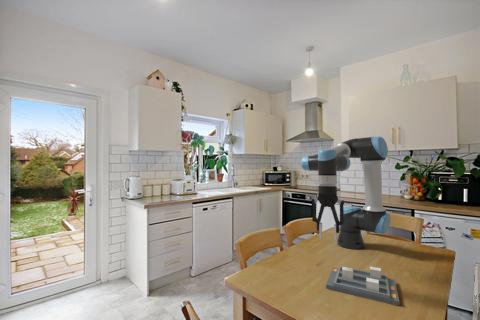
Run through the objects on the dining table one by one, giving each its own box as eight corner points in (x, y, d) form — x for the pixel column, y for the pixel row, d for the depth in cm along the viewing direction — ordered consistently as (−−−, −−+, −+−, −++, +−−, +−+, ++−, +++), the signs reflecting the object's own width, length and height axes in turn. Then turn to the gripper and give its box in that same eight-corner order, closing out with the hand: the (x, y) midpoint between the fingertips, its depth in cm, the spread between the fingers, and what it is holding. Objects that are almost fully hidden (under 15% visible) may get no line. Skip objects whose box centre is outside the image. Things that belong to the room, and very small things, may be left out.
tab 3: (366, 288, 90) (366, 277, 90) (378, 290, 88) (378, 279, 88) (366, 291, 88) (366, 280, 88) (378, 294, 86) (378, 283, 86)
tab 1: (342, 276, 100) (342, 266, 100) (353, 278, 98) (353, 268, 98) (342, 279, 97) (341, 269, 97) (352, 281, 95) (352, 271, 95)
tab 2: (370, 275, 100) (369, 266, 100) (381, 278, 98) (380, 268, 98) (369, 278, 98) (369, 269, 98) (381, 281, 96) (381, 271, 96)
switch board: (333, 270, 109) (332, 264, 109) (395, 283, 97) (395, 276, 97) (326, 288, 93) (326, 281, 93) (399, 306, 81) (399, 298, 81)
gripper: (303, 185, 103) (304, 238, 103) (349, 186, 94) (350, 245, 94) (308, 183, 110) (308, 234, 109) (351, 185, 101) (352, 240, 100)
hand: (328, 239), depth 102 cm, fingers open, 5 cm apart
